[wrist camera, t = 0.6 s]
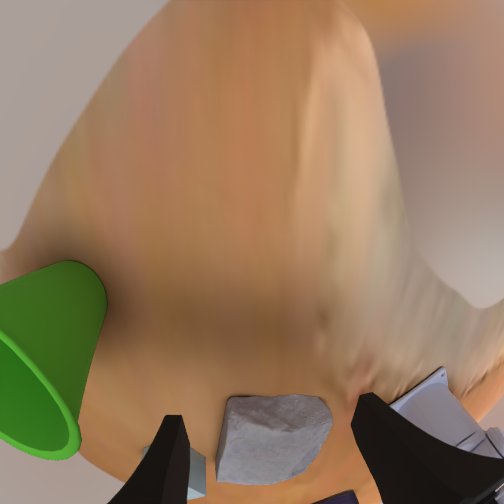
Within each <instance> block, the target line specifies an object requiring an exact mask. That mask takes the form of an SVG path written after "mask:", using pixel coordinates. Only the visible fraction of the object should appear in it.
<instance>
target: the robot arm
mask: <svg viewBox="0 0 504 504" xmlns="http://www.w3.org/2000/svg"><path fill="white" fill-rule="evenodd" d="M351 428H352V431H353V434H354V437H355V440H356V443H357V446H358V448H359V450H360V452H361V454H362V456H363V458H364V460H365V462H366V464H367V466H368V468H369V470H370V472H371V474H372V476H373V478H374V480H375V482H376V485H377V487H378V490H379V493H380V496H381V499H382V502H383V504H504V486H502V487H501V488H500V489H499V490H498V491H497V492H495V490H496V489H497V488H499V487H500V486H501V485H502V484H503V483H504V433H503V432H502V431H501V430H500V429H499V428H498V427H494V428H492V427H490V428H489V429H488V430H487V431H484V430H483V429H482V428H481V427H480V426H479V425H478V423H477V422H476V421H475V420H474V419H473V417H472V416H471V415H470V414H469V413H468V411H467V410H466V409H465V408H464V407H463V406H462V404H461V403H460V402H459V401H458V400H457V399H456V397H455V396H454V395H453V394H452V393H451V392H450V391H449V389H448V381H447V374H446V369H445V368H444V367H442V368H440V369H439V370H438V371H436V372H435V373H434V374H433V375H431V376H430V377H429V378H427V379H426V380H425V381H424V382H422V383H421V384H420V385H418V386H417V387H415V388H414V389H413V390H411V391H410V392H409V393H407V394H406V395H404V396H403V397H401V398H400V399H398V400H397V401H395V402H394V403H392V404H391V405H388V404H387V403H385V402H384V401H383V400H382V399H380V398H379V397H378V396H377V395H376V394H374V393H373V392H370V393H366V394H362V395H360V396H359V399H358V403H357V406H356V409H355V413H354V416H353V419H352V422H351ZM189 474H190V442H189V439H188V436H187V432H186V429H185V425H184V422H183V418H182V415H166V416H165V417H164V419H163V421H162V423H161V426H160V428H159V430H158V432H157V434H156V436H155V438H154V440H153V442H152V444H151V445H150V447H149V449H148V451H147V453H146V454H145V456H144V458H143V459H142V461H141V462H140V464H139V465H138V467H137V468H136V470H135V471H134V473H133V474H132V476H131V477H130V478H129V480H128V481H127V482H126V483H125V485H124V486H123V487H122V488H121V489H120V491H119V492H118V493H117V494H116V495H115V496H114V497H113V498H112V499H111V500H110V502H108V503H107V504H187V495H188V484H189Z"/></svg>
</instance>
